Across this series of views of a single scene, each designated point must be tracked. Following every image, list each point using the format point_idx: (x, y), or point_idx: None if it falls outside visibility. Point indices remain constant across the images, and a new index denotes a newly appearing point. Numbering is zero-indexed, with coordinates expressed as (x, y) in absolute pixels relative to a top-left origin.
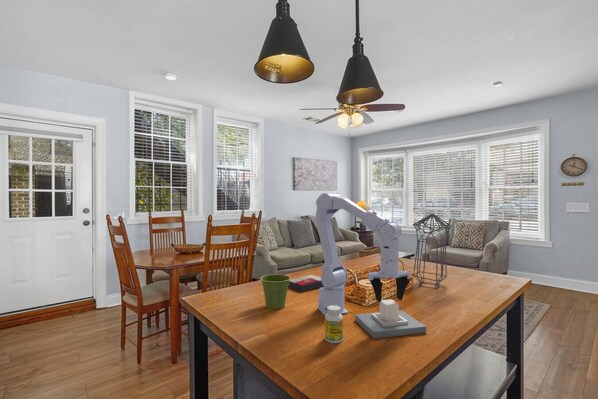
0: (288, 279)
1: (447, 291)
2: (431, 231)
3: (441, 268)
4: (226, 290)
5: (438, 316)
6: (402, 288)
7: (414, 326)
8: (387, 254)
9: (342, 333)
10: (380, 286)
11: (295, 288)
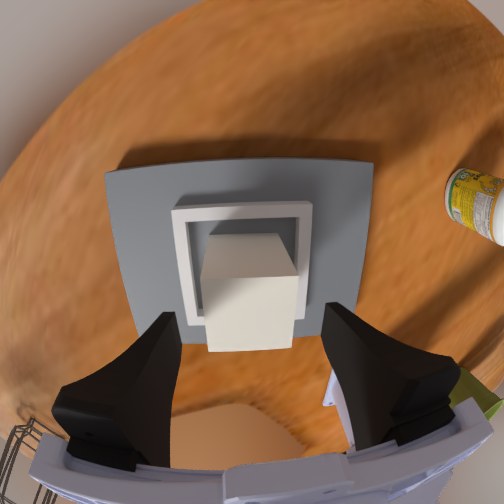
0: None
1: (14, 401)
2: None
3: (8, 447)
4: None
5: (34, 297)
6: (143, 363)
7: (155, 178)
8: None
9: (465, 181)
10: (401, 360)
11: None
